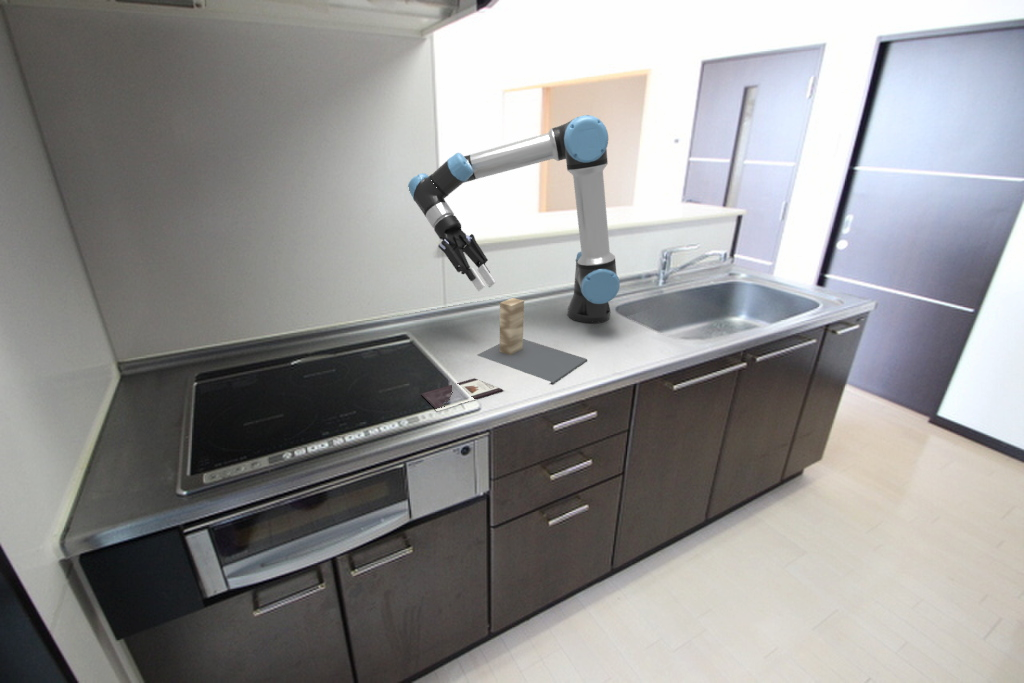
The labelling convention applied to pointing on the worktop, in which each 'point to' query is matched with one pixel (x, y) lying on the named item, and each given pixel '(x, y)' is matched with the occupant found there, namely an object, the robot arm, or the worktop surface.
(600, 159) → the robot arm
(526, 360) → the rubber mat
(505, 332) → the wooden block
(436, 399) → the chocolate bar
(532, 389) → the worktop surface
